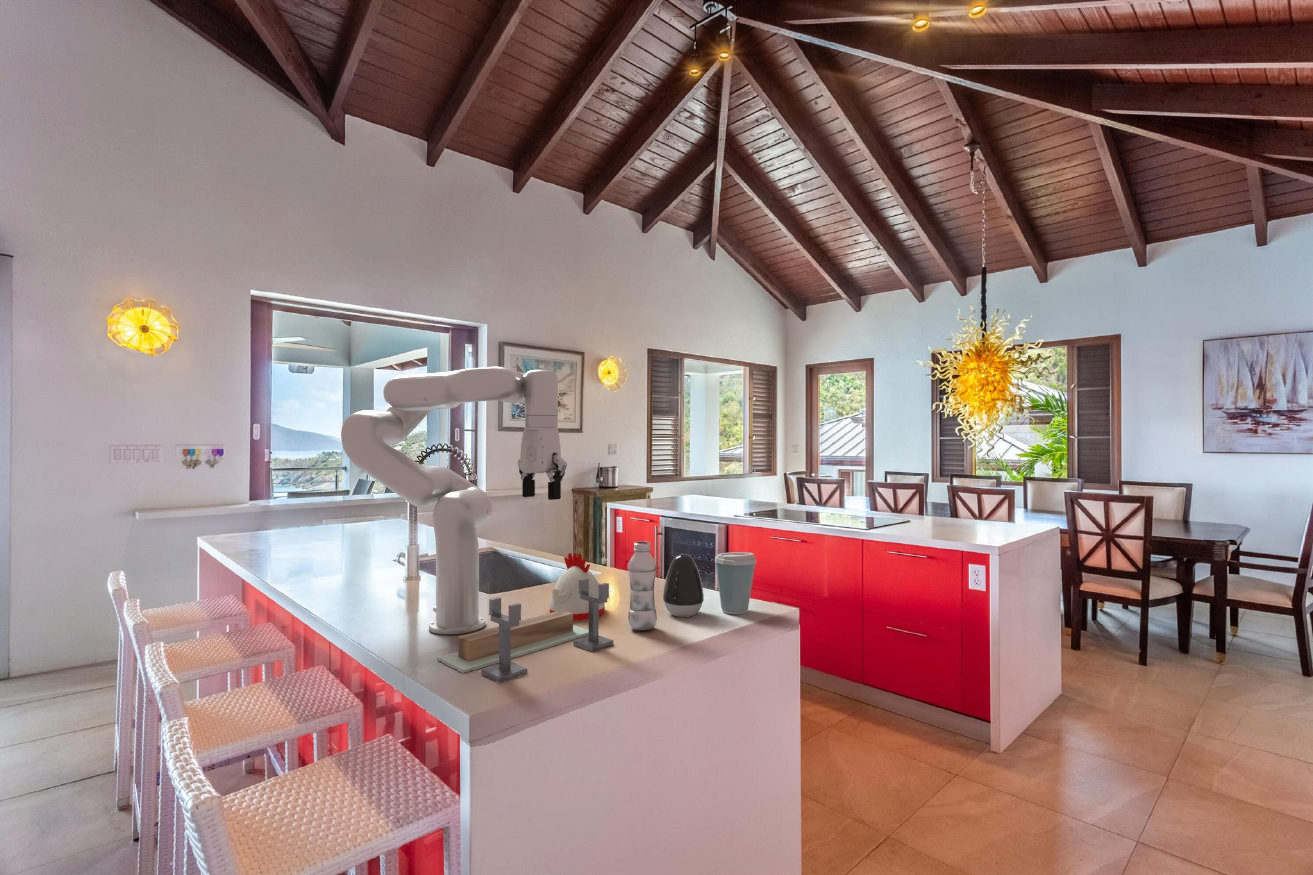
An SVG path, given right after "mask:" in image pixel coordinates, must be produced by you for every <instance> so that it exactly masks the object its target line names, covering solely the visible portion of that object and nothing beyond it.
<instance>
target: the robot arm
mask: <svg viewBox="0 0 1313 875" xmlns="http://www.w3.org/2000/svg"><path fill="white" fill-rule="evenodd" d="M382 393H383V398H384V402H386V403H387V404H386V405H388V406H389V408H388V409H386V410H385V411H380V410H379V411H377V410H360V411H357V412H354V413H352V414H350V415H349V416H348V417H347V418H346V419H345V420H344V421H343V423H342V427H341V431H340V439H341V444H342V448H343V450H344V453H345V454H346V456H347V457H348V458H349V460H350V461H351V462H352V463H353V464H354V465H355V466H356V467H357V468H358V469H359V470H361V471H362V472H364V473H365V474H366V475H368V476H369V477H372V478H373V479H375V480H376V481H378V482H379V483H380V484H381V485H383V486H385V487H386V488H387V489H389V490H390V491H391V492H392V493H395V494H396V495H397V496H399V497H400V498H402V499H403V500H405V501H406V502H407V503H409V504H411V505H412V506H415V507H428V506H429V507H430V506H433V505H434V506H433V509H432V525H433V532H434V538H435V606H434V607H433V608H432V611H433V613H435V619H433V620H432V621H430V622H429V624H428V630H429V632H431V633H434V634H438V635H462V634H463V635H464V634H469V633H474V632H477V631H479V630H480V629H481V630H482V629H483V628H484V627H485V626H486V618H485V617H483V616H481V615H479V614H480V613H479V612H480V611H479V610H480V609H479V603H480V602H479V601H480V600H479V598H480V597H479V596H480V589H479V588H480V581H479V580H480V573H479V572H480V570H479V569H480V562H479V561H480V559H479V558H480V552H479V551H480V550H479V549H480V548H479V541H478V540H479V539H478V535H477V530H476V528H477V527H479V526H481V525H483V524H485V523H487V522H488V520H489V519H490V517H491V515H492V512H493V503H492V500H491V498H490V497H489V495H488V494H487V493H486V492H485V491H483V490H482V489H481V488H480V487H478V486H476V485H475V484H474V483H472V482H471V481H469V480H468V479H466V478H465V477H462V475H460V474H458V473H457V472H455V471H453V470H452V469H450V468H447V467H446V466H442V465H423V464H421V463H419V462H417V461H415V460H414V459H412V458H410V457H409V456H408V455H406V454H405V453H403V452H401V451H400V450H398V449H396V448H394V447H393V446H397V445H398V444H400V443H401V442H403V441H404V440H405V439H407V438H408V436H410V435H411V433H412V432H413V431H414V430H415V429H416V428H417V427H418V426H419V425H420V424H421V423H422V422H423V420H425V418H426V417H427V415H429V414H430V412H431V411H432V410H446V409H449V410H450V409H455V408H457V407H458V406H460V405H461V404H465V403H474V402H489V401H491V402H492V401H496V402H497V401H498V402H505V403H510V404H518V403H523V402H524V430H522V436H521V444H520V452H519V453H520V454H519V456H520V458H519V459H518V460H517V461H516V462H517V467H518V470H519V471H518V473H519V474H520V479H521V481H522V482H521V483H522V485H521V487H522V489H521V490H522V491H521V493H522V498H533V497H535V495H536V479H534V478H535V476H536V475H537V474H546V476H547V477H548V480H549V481H547V499H548V500H549V501H554V500H561V497H562V495H561V494H562V493H561V492H562V487H561V486H562V485H561V484H562V482H563V480H564V479H563V478H564V476H565V474H566V469H567V467H568V462H567V461H565V459H564V458H562V456H561V455H562V454H561V441H560V440H561V439H560V434H559V416H558V415H559V414H558V413H559V412H558V410H559V409H558V407H559V406H558V405H559V402H558V401H559V377H558V374H557V373H556V372H555V371H553V370H548V369H533V370H532V369H531V370H528V371H527V372H521V371H516V370H513V369H511V368H508V367H507V368H506V367H504V366H503V367H502V366H489V367H474V368H466V369H459V370H452V371H447V372H446V371H445V372H435V373H421V374H408V375H407V374H406V375H398V376H395V377H393V378H391V379H389V380H388V381H387V382H386V383H385V385H384V387H383V392H382Z"/></svg>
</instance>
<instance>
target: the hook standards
mask: <svg viewBox="0 0 1313 875" xmlns="http://www.w3.org/2000/svg"><path fill="white" fill-rule="evenodd" d="M579 594H580V599H583V600H587V601H589V619H588V630H589V635H587V636H584V637H580V638H577V639H574V640H573V643H572V644H573V646H574V647H577V648H580V649H582V650H585V651H588V652H591V653H594V652H597V651H600V650H602V649H606V648H608V647H612V646H614V644H615V643H614V639H610V638H608V637H605V636H602V635H599V634H600V633H599V628H600V627H599V625H600V624H599V619H600V618H599V617H600V616H599V604H603V603H605V604H606V603H608V599H609V598H610V583H609V582H604V583H600V584H599V595H595V594H592V593H589V579H587V578H585V579H580V580H579ZM488 615H489V616H490V622H493V623H496V624H498V626H499V663H496V664H492V665H489V666H486V667H483V668H481V675H482V676H483V677H486V678H488V679H490V680H492V681H495V682H496V681H497V682H496V683H498V684H501V683H505V682H507V681H510V680H513V679H516V678H519V677H520V678H521V677H523V676H525V675H528V672H529V671H528V669H529V668H528V667H525V666H523V665H521V664H518V663H516V662H513V661H511V659H510V632H511V627H515V626H519V621H521V620H522V603H519V602H518V603H517V602H516V603H512V604H508V615H506V614H503V613H502V597H499V596H497V597H493V598H489V599H488ZM504 681H505V682H504Z"/></svg>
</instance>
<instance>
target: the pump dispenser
mask: <svg viewBox="0 0 1313 875" xmlns="http://www.w3.org/2000/svg"><path fill="white" fill-rule="evenodd" d="M695 558H696V555H695V554H694V553H691V554H690V555H689V554H687V553H679V554H677V555H675V557H674V558H673V559H672V561H671V562H670V564H669V567H668V570H667V572H666V573H667V574H666V576H665V582H664V587H663V594H662V599H663V600H662V601H663V602H664V606H665V608H666V610H667V612H669V614H671V615H673V616H675V617H680V618H689V617H693V616H695V615H696V614H698V613H699V612H700V610H701V608H702V606H703V602H704V599H705V597H704V596H705V595H704V589H703V588H704V587H703V583H702V578H701V575H700V572H699V569H698V565H697V563H696V562H695V560H694V559H695Z"/></svg>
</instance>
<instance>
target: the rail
mask: <svg viewBox="0 0 1313 875" xmlns="http://www.w3.org/2000/svg"><path fill="white" fill-rule="evenodd" d="M573 625H574V620H573V613H570V612H567V611H563V610H560V611H556V612H553V613H550V612H549V613H546V614H541V615H537V616H534V617H530V618H526V619H521V621H519V626H515V627H511V632H510V650H511V649H514V648H518V647H521V646H524V645H528V644H531V643H535V642H538V641H541V640H545V639H548V638H552V637H555V636H558V635H562V634H565V633H569V632H572V631H573ZM457 639H458V641H457V642H458V644H457V646H458V647H457V648H458V649H457V652H458V657H460V658H462V659H464V660H466V661H468V662H470V661H473V660H477V659H480V658H484V657H487V656H490V655H494V654H497V653H499V625H498V626H495V627H490V628H487V629H483V630H482V629H481V630H478V631H474V632H470V633H466V634H463V635H460V636H459V635H458V638H457Z"/></svg>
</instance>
